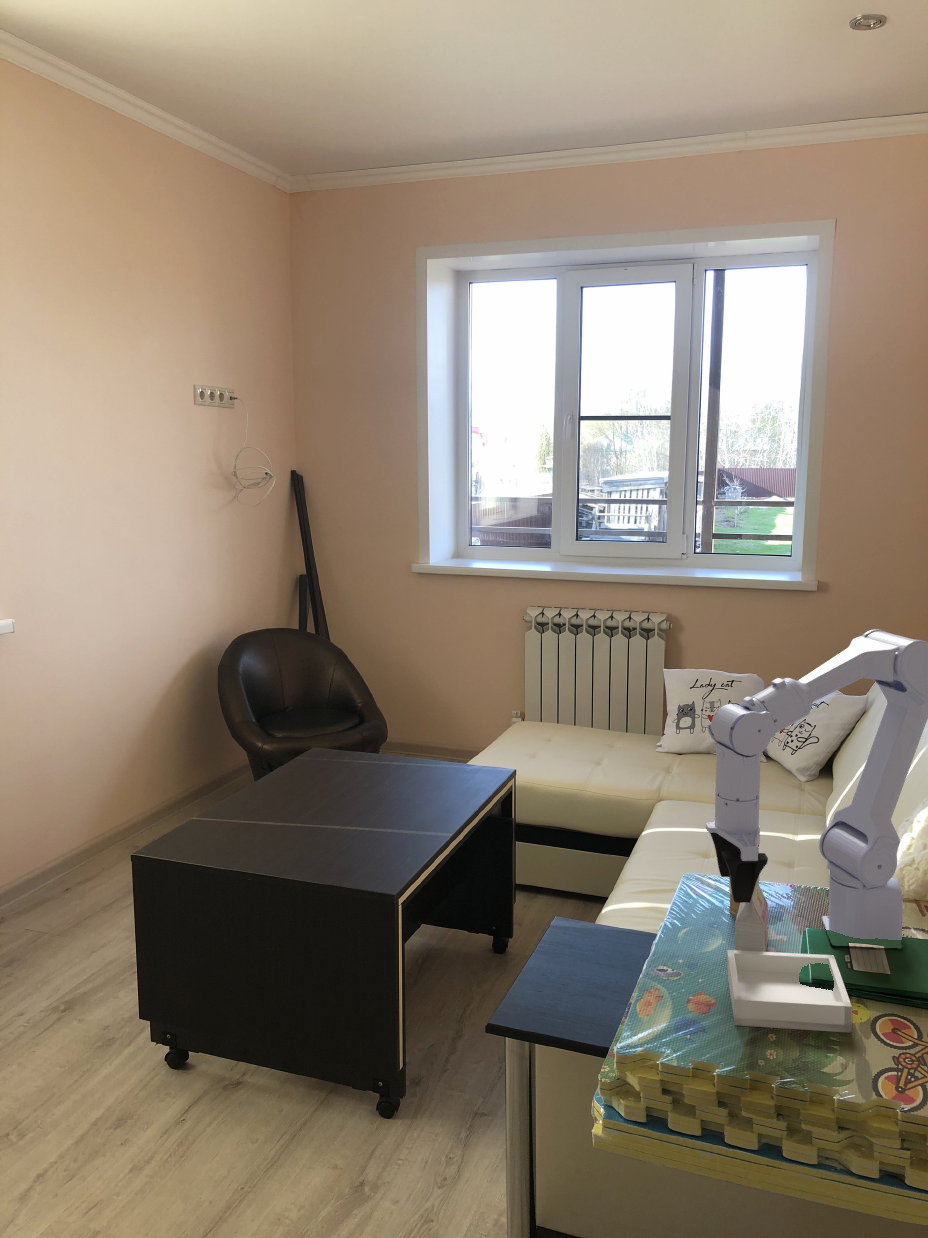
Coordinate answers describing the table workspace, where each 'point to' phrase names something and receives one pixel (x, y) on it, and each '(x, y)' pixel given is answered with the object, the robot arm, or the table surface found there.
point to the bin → (785, 992)
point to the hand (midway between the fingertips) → (734, 888)
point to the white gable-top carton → (752, 923)
